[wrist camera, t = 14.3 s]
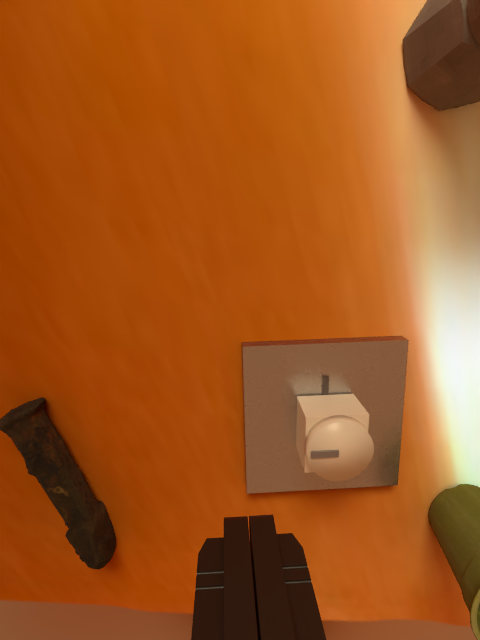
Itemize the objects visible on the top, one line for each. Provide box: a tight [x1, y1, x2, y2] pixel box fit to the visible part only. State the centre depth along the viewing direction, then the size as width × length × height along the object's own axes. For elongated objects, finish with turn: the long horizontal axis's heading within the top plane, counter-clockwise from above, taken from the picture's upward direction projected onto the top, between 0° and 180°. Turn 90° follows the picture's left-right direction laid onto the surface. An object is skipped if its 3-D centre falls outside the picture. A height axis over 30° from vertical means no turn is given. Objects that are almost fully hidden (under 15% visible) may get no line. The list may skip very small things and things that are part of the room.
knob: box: [296, 394, 374, 481], centre depth 33 cm, size 6×6×5 cm
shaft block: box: [242, 336, 408, 494], centre depth 35 cm, size 16×16×5 cm
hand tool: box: [0, 397, 116, 569], centre depth 36 cm, size 19×4×5 cm, turn 21°
